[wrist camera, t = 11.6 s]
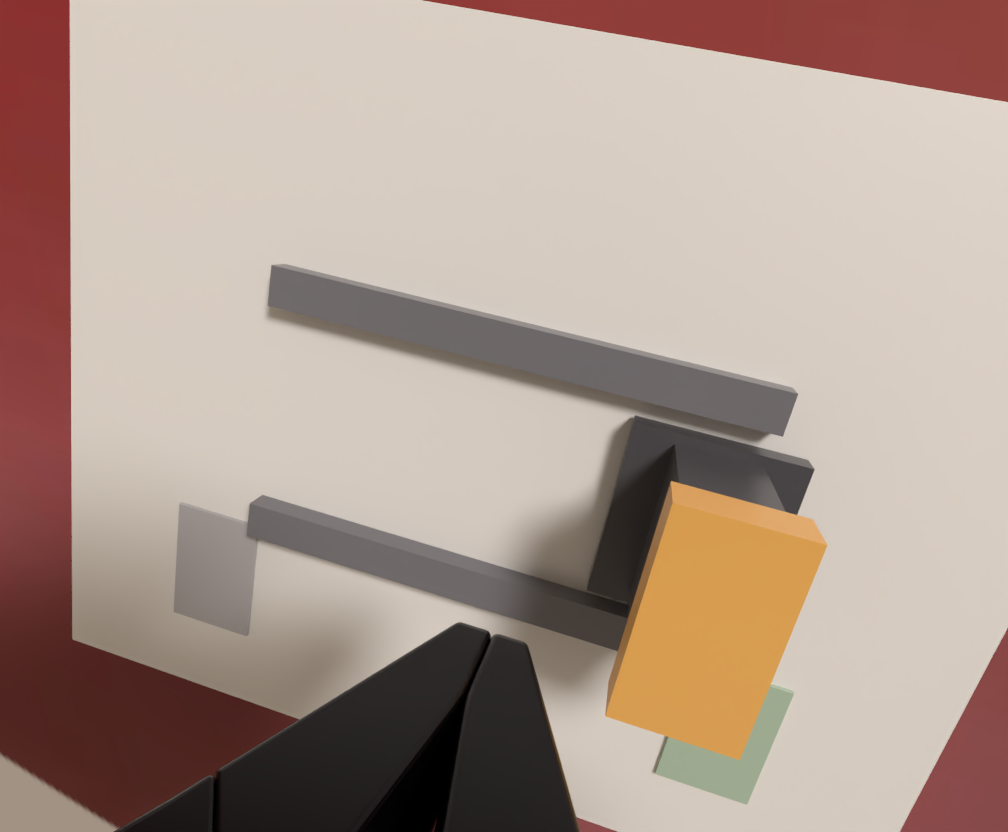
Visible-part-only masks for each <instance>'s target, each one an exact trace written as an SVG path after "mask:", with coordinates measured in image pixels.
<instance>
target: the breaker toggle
mask: <svg viewBox="0 0 1008 832" xmlns="http://www.w3.org/2000/svg"><path fill="white" fill-rule="evenodd" d="M814 470H815V469H814V468H813V466H812V465H811V463H810V462H809V460H806V459H803V458H799V457H795V456H791V455H787V454H783V453H779V452H776V451H772V450H768V449H764V448H760V447H756V446H752V445H748V444H745V443H741V442H737V441H733V440H729V439H725V438H721V437H717V436H714V435H710V434H706V433H702V432H698V431H694V430H690V429H686V428H683V427H679V426H675V425H671V424H667V423H663V422H659V421H655V420H652V419H648V418H644V417H640V416H636V415H635V416H634V420H633V423H632V427H631V430H630V434H629V437H628V441H627V445H626V448H625V452H624V455H623V459H622V462H621V466H620V469H619V473H618V476H617V480H616V483H615V487H614V490H613V494H612V498H611V501H610V505H609V508H608V512H607V515H606V519H605V522H604V526H603V529H602V533H601V536H600V540H599V543H598V547H597V551H596V554H595V558H594V561H593V565H592V568H591V572H590V575H589V579H588V585H587V591H590V592H594V593H597V594H600V595H604V596H607V597H610V598H614V599H617V600H620V601H623V602H627V603H628V615H627V623H626V627H625V630H624V633H623V636H622V640H621V643H620V646H619V649H618V652H617V656H616V659H615V662H614V665H613V668H612V672H611V675H610V678H609V681H608V691H607V702H606V712H605V716H606V717H609V718H612V719H615V720H618V721H621V722H624V723H627V724H630V725H633V726H636V727H640V728H643V729H646V730H649V731H652V732H655V733H658V734H661V735H664V736H667V737H670V738H673V739H676V740H679V741H682V742H685V743H688V744H691V745H694V746H698V747H701V748H704V749H707V750H710V751H713V752H716V753H719V754H722V755H725V756H728V757H731V758H734V759H737V760H740V759H741V756H742V754H743V751H744V749H745V746H746V744H747V741H748V739H749V736H750V734H751V732H752V729H753V727H754V724H755V722H756V719H757V717H758V714H759V712H760V709H761V707H762V705H763V702H764V700H765V697H766V695H767V692H768V690H769V687H770V685H771V683H772V680H773V678H774V675H775V673H776V670H777V668H778V665H779V663H780V660H781V658H782V656H783V653H784V651H785V648H786V646H787V643H788V641H789V638H790V636H791V634H792V631H793V629H794V626H795V624H796V621H797V619H798V616H799V614H800V611H801V609H802V607H803V604H804V602H805V599H806V597H807V594H808V592H809V589H810V587H811V584H812V582H813V580H814V577H815V575H816V572H817V570H818V567H819V565H820V562H821V560H822V558H823V555H824V553H825V550H826V548H827V543H826V542H825V540H824V538H823V536H822V535H821V533H820V531H819V529H818V527H817V526H816V524H815V522H814V520H813V519H810V518H806V517H802V516H799V515H797V514H798V511H799V509H800V506H801V504H802V501H803V499H804V496H805V493H806V491H807V488H808V486H809V483H810V480H811V478H812V475H813V473H814Z"/></svg>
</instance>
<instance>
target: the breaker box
mask: <svg viewBox="0 0 1008 832" xmlns="http://www.w3.org/2000/svg"><path fill="white" fill-rule="evenodd" d="M70 183H71V445H72V639H73V640H76V641H78V642H81V643H84V644H87V645H90V646H93V647H95V648H98V649H101V650H104V651H107V652H110V653H112V654H115V655H118V656H121V657H124V658H127V659H129V660H132V661H135V662H138V663H141V664H144V665H146V666H149V667H152V668H155V669H158V670H161V671H163V672H166V673H169V674H172V675H175V676H178V677H181V678H183V679H186V680H189V681H192V682H195V683H198V684H200V685H203V686H206V687H209V688H212V689H215V690H217V691H220V692H223V693H226V694H229V695H232V696H234V697H237V698H240V699H243V700H246V701H249V702H251V703H254V704H257V705H260V706H263V707H266V708H269V709H271V710H274V711H277V712H280V713H283V714H286V715H288V716H291V717H294V718H297V719H301V718H303V717H304V716H306V715H308V714H309V713H311V712H312V711H314V710H316V709H317V708H319V707H321V706H322V705H324V704H325V703H327V702H329V701H330V700H332V699H334V698H335V697H337V696H338V695H340V694H342V693H343V692H345V691H346V690H348V689H350V688H351V687H353V686H355V685H356V684H358V683H359V682H361V681H363V680H364V679H366V678H368V677H369V676H371V675H372V674H374V673H376V672H377V671H379V670H381V669H382V668H384V667H385V666H387V665H389V664H390V663H392V662H393V661H395V660H397V659H398V658H400V657H402V656H403V655H405V654H406V653H408V652H410V651H411V650H413V649H415V648H416V647H418V646H419V645H421V644H423V643H424V642H426V641H427V640H429V639H431V638H432V637H434V636H436V635H437V634H439V633H440V632H442V631H444V630H445V629H447V628H449V627H450V626H452V625H453V624H455V623H458V622H462V623H466V624H469V625H472V626H475V627H478V628H482V629H485V630H487V631H489V633H490V635H491V637H492V636H493V635H495V634H501V635H504V636H507V637H510V638H514V639H517V640H520V641H523V642H525V643H526V644H527V645H528V648H529V651H530V654H531V658H532V661H533V665H534V668H535V672H536V676H537V679H538V683H539V686H540V690H541V693H542V697H543V700H544V704H545V708H546V711H547V715H548V718H549V722H550V725H551V729H552V732H553V736H554V740H555V743H556V747H557V750H558V754H559V757H560V761H561V764H562V768H563V771H564V775H565V779H566V782H567V786H568V789H569V793H570V796H571V800H572V803H573V807H574V811H575V814H576V817H578V818H581V819H584V820H586V821H589V822H592V823H595V824H598V825H601V826H603V827H606V828H609V829H612V830H615V831H618V832H900V830H901V828H902V826H903V824H904V822H905V820H906V819H907V817H908V815H909V813H910V811H911V809H912V807H913V805H914V803H915V802H916V800H917V798H918V796H919V794H920V792H921V790H922V788H923V787H924V785H925V783H926V781H927V779H928V777H929V775H930V773H931V771H932V770H933V768H934V766H935V764H936V762H937V760H938V758H939V756H940V754H941V753H942V751H943V749H944V747H945V745H946V743H947V741H948V739H949V737H950V736H951V734H952V732H953V730H954V728H955V726H956V724H957V722H958V720H959V719H960V717H961V715H962V713H963V711H964V709H965V707H966V705H967V703H968V702H969V700H970V698H971V696H972V694H973V692H974V690H975V688H976V687H977V685H978V683H979V681H980V679H981V677H982V675H983V673H984V671H985V670H986V668H987V666H988V664H989V662H990V660H991V658H992V656H993V654H994V653H995V651H996V649H997V647H998V645H999V643H1000V641H1001V639H1002V637H1003V636H1004V634H1005V632H1006V630H1007V628H1008V102H1003V101H997V100H991V99H985V98H980V97H974V96H968V95H962V94H957V93H951V92H945V91H939V90H934V89H928V88H922V87H916V86H911V85H905V84H899V83H893V82H888V81H882V80H876V79H870V78H865V77H859V76H853V75H847V74H842V73H836V72H830V71H824V70H819V69H813V68H807V67H801V66H796V65H790V64H784V63H778V62H773V61H767V60H761V59H756V58H750V57H744V56H738V55H733V54H727V53H721V52H715V51H710V50H704V49H698V48H692V47H687V46H681V45H675V44H669V43H664V42H658V41H652V40H646V39H641V38H635V37H629V36H623V35H618V34H612V33H606V32H600V31H595V30H589V29H583V28H577V27H572V26H566V25H560V24H554V23H549V22H543V21H537V20H532V19H526V18H520V17H514V16H509V15H503V14H497V13H491V12H486V11H480V10H474V9H468V8H463V7H457V6H451V5H445V4H440V3H434V2H428V1H422V0H70ZM635 415H636V416H640V417H644V418H648V419H652V420H655V421H659V422H663V423H667V424H671V425H675V426H679V427H683V428H686V429H690V430H694V431H698V432H702V433H706V434H710V435H714V436H717V437H721V438H725V439H729V440H733V441H737V442H741V443H745V444H748V445H752V446H756V447H760V448H764V449H768V450H772V451H776V452H779V453H783V454H787V455H791V456H795V457H799V458H803V459H806V460H809V462H810V463H811V465H812V466H813V468H814V469H815V470H814V473H813V475H812V478H811V480H810V483H809V486H808V488H807V491H806V493H805V496H804V499H803V501H802V504H801V506H800V509H799V511H798V514H797V515H799V516H802V517H806V518H810V519H813V520H814V522H815V524H816V526H817V527H818V529H819V531H820V533H821V535H822V536H823V538H824V540H825V542H826V543H827V548H826V550H825V553H824V555H823V558H822V560H821V562H820V565H819V567H818V570H817V572H816V575H815V577H814V580H813V582H812V584H811V587H810V589H809V592H808V594H807V597H806V599H805V602H804V604H803V607H802V609H801V611H800V614H799V616H798V619H797V621H796V624H795V626H794V629H793V631H792V634H791V636H790V638H789V641H788V643H787V646H786V648H785V651H784V653H783V656H782V658H781V660H780V663H779V665H778V668H777V670H776V673H775V675H774V678H773V680H772V683H771V685H770V687H769V690H768V692H767V695H766V697H765V700H764V702H763V705H762V707H761V709H760V712H759V714H758V717H757V719H756V722H755V724H754V727H753V729H752V732H751V734H750V736H749V739H748V741H747V744H746V746H745V749H744V751H743V754H742V756H741V759H740V760H737V759H734V758H731V757H728V756H725V755H722V754H719V753H716V752H713V751H710V750H707V749H704V748H701V747H698V746H694V745H691V744H688V743H685V742H682V741H679V740H676V739H673V738H670V737H667V736H664V735H661V734H658V733H655V732H652V731H649V730H646V729H643V728H640V727H636V726H633V725H630V724H627V723H624V722H621V721H618V720H615V719H612V718H609V717H606V716H605V712H606V702H607V691H608V681H609V678H610V675H611V672H612V668H613V665H614V662H615V659H616V656H617V652H618V649H619V646H620V643H621V640H622V636H623V633H624V630H625V627H626V623H627V615H628V603H627V602H623V601H620V600H617V599H614V598H610V597H607V596H604V595H600V594H597V593H594V592H590V591H587V585H588V579H589V575H590V572H591V568H592V565H593V561H594V558H595V554H596V551H597V547H598V543H599V540H600V536H601V533H602V529H603V526H604V522H605V519H606V515H607V512H608V508H609V505H610V501H611V498H612V494H613V490H614V487H615V483H616V480H617V476H618V473H619V469H620V466H621V462H622V459H623V455H624V452H625V448H626V445H627V441H628V437H629V434H630V430H631V427H632V423H633V420H634V416H635Z"/></svg>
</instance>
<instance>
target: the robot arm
mask: <svg viewBox="0 0 1008 832" xmlns="http://www.w3.org/2000/svg"><path fill="white" fill-rule="evenodd" d="M435 825H436V826H435ZM434 828H435V830H434ZM433 831H434V832H580V828H579V825H578V821H577V818H576V814H575V811H574V807H573V803H572V800H571V796H570V793H569V789H568V786H567V782H566V779H565V775H564V771H563V768H562V764H561V761H560V757H559V754H558V750H557V747H556V743H555V740H554V736H553V732H552V729H551V725H550V722H549V718H548V715H547V711H546V708H545V704H544V700H543V697H542V693H541V690H540V686H539V683H538V679H537V676H536V672H535V668H534V665H533V661H532V658H531V654H530V651H529V648H528V645H527V644H526V643H525V642H523V641H520V640H517V639H514V638H510V637H507V636H504V635H501V634H495V635H493V636H492V637H491V635H490V633H489V631H487V630H485V629H482V628H478V627H475V626H472V625H469V624H466V623H462V622H458V623H455V624H453V625H452V626H450V627H449V628H447V629H445V630H444V631H442V632H440V633H439V634H437V635H436V636H434V637H432V638H431V639H429V640H427V641H426V642H424V643H423V644H421V645H419V646H418V647H416V648H415V649H413V650H411V651H410V652H408V653H406V654H405V655H403V656H402V657H400V658H398V659H397V660H395V661H393V662H392V663H390V664H389V665H387V666H385V667H384V668H382V669H381V670H379V671H377V672H376V673H374V674H372V675H371V676H369V677H368V678H366V679H364V680H363V681H361V682H359V683H358V684H356V685H355V686H353V687H351V688H350V689H348V690H346V691H345V692H343V693H342V694H340V695H338V696H337V697H335V698H334V699H332V700H330V701H329V702H327V703H325V704H324V705H322V706H321V707H319V708H317V709H316V710H314V711H312V712H311V713H309V714H308V715H306V716H304V717H303V718H301V719H299V720H298V721H296V722H295V723H293V724H291V725H290V726H288V727H287V728H285V729H283V730H282V731H280V732H278V733H277V734H275V735H274V736H272V737H270V738H269V739H267V740H265V741H264V742H262V743H261V744H259V745H257V746H256V747H254V748H252V749H251V750H249V751H248V752H246V753H244V754H243V755H241V756H240V757H238V758H236V759H235V760H233V761H231V762H230V763H228V764H227V765H225V766H223V767H222V768H220V769H219V770H217V772H216V774H215V778H214V777H213V776H211V775H209V776H206V777H205V778H203V779H202V780H200V781H198V782H197V783H195V784H194V785H192V786H190V787H189V788H187V789H185V790H184V791H182V792H181V793H179V794H177V795H176V796H174V797H172V798H171V799H169V800H167V801H166V802H164V803H162V804H161V805H159V806H157V807H155V808H154V809H152V810H150V811H149V812H147V813H145V814H143V815H142V816H140V817H138V818H137V819H135V820H133V821H131V822H130V823H128V824H126V825H125V826H123V827H121V828H119V829H118V830H116V831H114V832H433Z"/></svg>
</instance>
